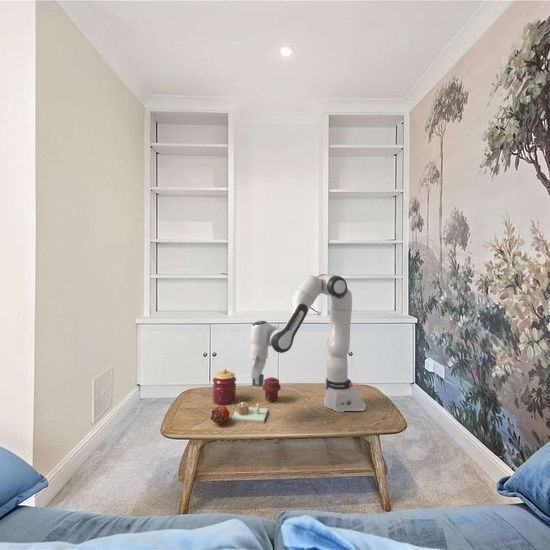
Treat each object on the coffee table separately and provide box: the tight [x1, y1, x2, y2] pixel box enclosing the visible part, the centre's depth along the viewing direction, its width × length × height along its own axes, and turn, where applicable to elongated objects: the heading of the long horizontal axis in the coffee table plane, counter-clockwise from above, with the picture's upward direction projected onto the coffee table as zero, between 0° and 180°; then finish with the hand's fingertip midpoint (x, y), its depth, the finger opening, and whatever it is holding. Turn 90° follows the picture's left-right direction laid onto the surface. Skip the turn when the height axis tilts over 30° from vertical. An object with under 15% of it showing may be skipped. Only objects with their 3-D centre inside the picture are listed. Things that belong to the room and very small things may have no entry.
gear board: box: [230, 401, 269, 424], centre depth 164 cm, size 16×13×6 cm
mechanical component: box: [262, 376, 281, 404], centre depth 182 cm, size 12×10×10 cm
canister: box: [212, 368, 237, 406], centre depth 181 cm, size 13×13×18 cm
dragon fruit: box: [210, 405, 230, 425], centre depth 157 cm, size 8×8×12 cm
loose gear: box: [251, 373, 265, 388], centre depth 162 cm, size 5×5×4 cm
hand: (258, 381), depth 162 cm, fingers closed on loose gear, 5 cm apart
